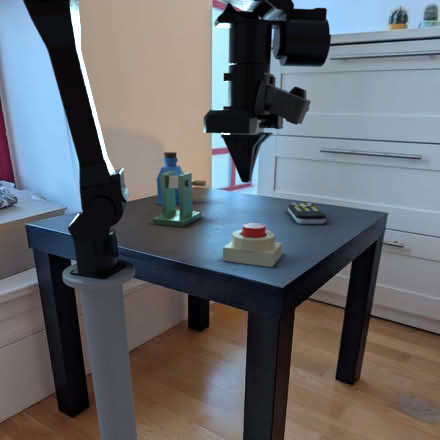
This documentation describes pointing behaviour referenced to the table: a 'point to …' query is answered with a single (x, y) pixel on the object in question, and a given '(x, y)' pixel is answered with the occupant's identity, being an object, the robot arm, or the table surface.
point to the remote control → (306, 213)
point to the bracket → (169, 206)
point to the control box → (253, 249)
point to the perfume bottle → (169, 166)
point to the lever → (174, 182)
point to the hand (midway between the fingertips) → (245, 182)
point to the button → (253, 230)
